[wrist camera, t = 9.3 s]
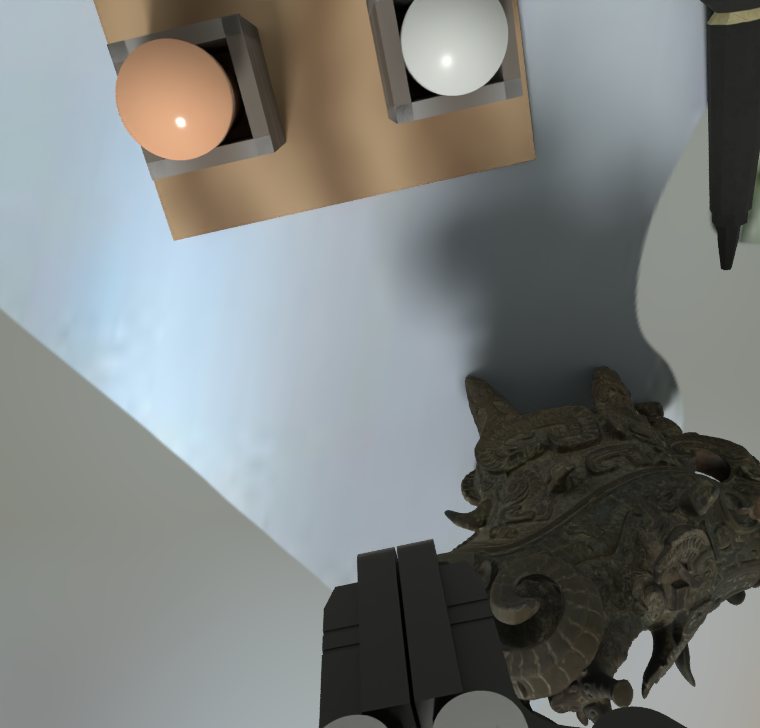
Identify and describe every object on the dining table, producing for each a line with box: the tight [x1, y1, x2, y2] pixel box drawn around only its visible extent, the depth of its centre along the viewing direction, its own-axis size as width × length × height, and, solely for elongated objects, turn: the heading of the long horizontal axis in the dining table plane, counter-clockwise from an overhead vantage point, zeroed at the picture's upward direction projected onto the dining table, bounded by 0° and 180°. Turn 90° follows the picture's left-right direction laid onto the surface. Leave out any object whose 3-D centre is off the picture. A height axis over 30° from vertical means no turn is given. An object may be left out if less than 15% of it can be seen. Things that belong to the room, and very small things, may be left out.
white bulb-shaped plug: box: [400, 0, 508, 96], centre depth 32 cm, size 5×5×8 cm
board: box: [93, 0, 536, 241], centre depth 34 cm, size 22×14×8 cm, turn 102°
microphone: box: [700, 0, 760, 270], centre depth 38 cm, size 6×6×20 cm
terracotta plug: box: [116, 39, 245, 160], centre depth 31 cm, size 5×5×8 cm
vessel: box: [437, 366, 760, 726], centre depth 36 cm, size 11×25×24 cm, turn 98°
